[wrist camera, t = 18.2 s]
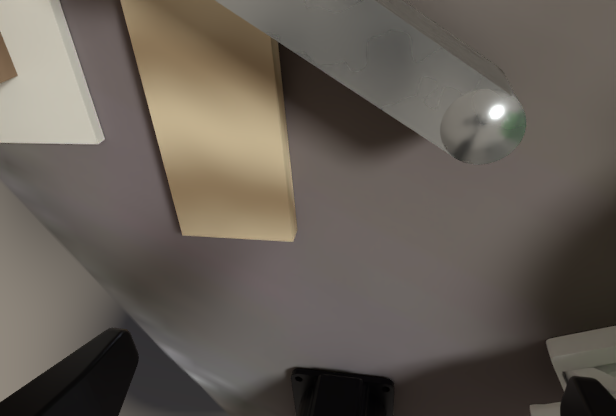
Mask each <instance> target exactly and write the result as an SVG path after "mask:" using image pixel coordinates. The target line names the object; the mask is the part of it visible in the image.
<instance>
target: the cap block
mask: <svg viewBox="0 0 616 416" xmlns="http://www.w3.org/2000/svg"><path fill="white" fill-rule="evenodd" d="M16 76H18V74H17V72H16V69H15V67H14V64H13V62H12V59H11V57H10V54H9V52H8V49H7V47H6V44H5V42H4V39H3V37H2V34H1V32H0V83H2V82H5V81H7V80H9V79H11V78H14V77H16Z"/></svg>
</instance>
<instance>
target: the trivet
mask: <svg viewBox="0 0 616 416" xmlns="http://www.w3.org/2000/svg"><path fill="white" fill-rule="evenodd" d="M0 32H1V34H2V37H3V39H4V42H5V44H6V47H7V49H8V52H9V54H10V57H11V59H12V62H13V64H14V67H15V69H16V72H17V74H18V76H16V77H14V78H11V79H9V80H7V81H5V82H2V83H0V143H47V144H99V143H101V142H102V141H103V140H105V138H104V135H103V132H102V129H101V126H100V123H99V120H98V117H97V114H96V111H95V108H94V105H93V102H92V99H91V95H90V92H89V89H88V86H87V83H86V80H85V77H84V74H83V71H82V68H81V65H80V62H79V59H78V56H77V53H76V50H75V47H74V44H73V41H72V38H71V35H70V32H69V29H68V26H67V22H66V19H65V16H64V13H63V10H62V7H61V4H60V1H59V0H0Z"/></svg>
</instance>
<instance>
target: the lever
mask: <svg viewBox="0 0 616 416" xmlns="http://www.w3.org/2000/svg"><path fill="white" fill-rule="evenodd" d="M215 1H217V2H218V3H220V4H221V5H223V6H224V7H226V8H227V9H229V10H230V11H232V12H233V13H235V14H236V15H238V16H239V17H241V18H242V19H244V20H246V21H247V22H249V23H250V24H252V25H253V26H255V27H256V28H258V29H259V30H261V31H262V32H264V33H265V34H267V35H268V36H270V37H271V38H273V39H274V40H276V41H278V42H279V43H281V44H282V45H284V46H285V47H287V48H288V49H290V50H291V51H293V52H294V53H296V54H297V55H299V56H300V57H302V58H303V59H305V60H306V61H308V62H310V63H311V64H313V65H314V66H316V67H317V68H319V69H320V70H322V71H323V72H325V73H326V74H328V75H329V76H331V77H332V78H334V79H335V80H337V81H338V82H340V83H342V84H343V85H345V86H346V87H348V88H349V89H351V90H352V91H354V92H355V93H357V94H358V95H360V96H361V97H363V98H364V99H366V100H367V101H369V102H370V103H372V104H374V105H375V106H377V107H378V108H380V109H381V110H383V111H384V112H386V113H387V114H389V115H390V116H392V117H393V118H395V119H396V120H398V121H399V122H401V123H402V124H404V125H406V126H407V127H409V128H410V129H412V130H413V131H415V132H416V133H418V134H419V135H421V136H422V137H424V138H425V139H427V140H428V141H430V142H431V143H433V144H434V145H436V146H438V147H439V148H441V149H442V150H444V151H445V152H447V153H448V154H450V155H451V156H453V157H454V158H456V159H458V160H460V161H462V162H465V163H468V164H478V165H480V164H488V163H492V162H495V161H498V160H500V159H502V158H504V157H506V156H507V155H508V154H510V153H511V152H512V151H513V150H514V149H515V148H516V147H517V146H518V144H519V143H520V142H521V140H522V138H523V135H524V133H525V128H526V116H525V112H524V110H523V108H522V106H521V104H520V102H519V100H518V98H517V96H516V94H515V92H514V90H513V89H512V87H511V85H510V83H509V81H508V79H507V77H506V75H505V74H504V72H503V71H502V70H501V69H500V68H499V67H498V66H496V65H495V64H493V63H492V62H491V61H489V60H488V59H486V58H485V57H483V56H482V55H481V54H479V53H478V52H476V51H475V50H473V49H472V48H471V47H469V46H468V45H466V44H465V43H463V42H462V41H461V40H459V39H458V38H456V37H455V36H453V35H452V34H451V33H449V32H448V31H446V30H445V29H444V28H442V27H441V26H439V25H438V24H436V23H435V22H434V21H432V20H431V19H429V18H428V17H426V16H425V15H424V14H422V13H421V12H419V11H418V10H416V9H415V8H414V7H412V6H411V5H409V4H408V3H406V2H405V1H404V0H215Z"/></svg>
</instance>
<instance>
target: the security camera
mask: <svg viewBox="0 0 616 416" xmlns="http://www.w3.org/2000/svg"><path fill="white" fill-rule="evenodd" d="M546 345H547V349H548V352H549V355H550V359H551V362H552V364H553V367H554V369H555V371H556V374H557V376H558V378H559V381H560V383H561V385H562V388H563V390H564V392H565V389H566V386H567V383H568V380H569V378H570V377H572V376H582V377H591V378H595V379H596V380H598V381H599V382H600V383H601V384H602V385H603V386H604V387H605V388H606V389H607V390H608V391H609V393H610V394H611V395H612V396H613V397H614V398H615V399H616V326H611V327H606V328H601V329H596V330H591V331H586V332H581V333H575V334H570V335H565V336H560V337H555V338H550V339H548V340H547V341H546ZM560 404H561V402H556V403H549V404H533V405H530V414H531V416H560Z"/></svg>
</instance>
